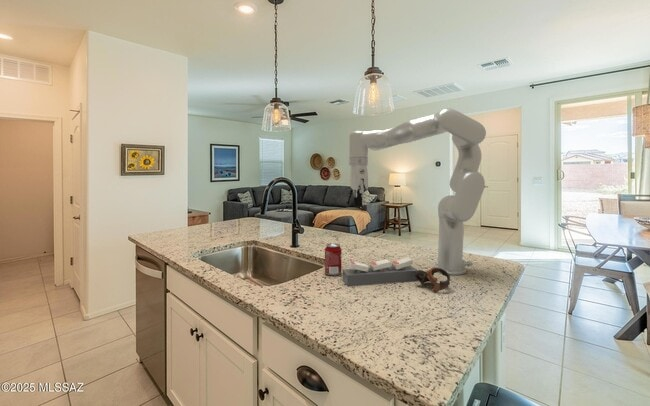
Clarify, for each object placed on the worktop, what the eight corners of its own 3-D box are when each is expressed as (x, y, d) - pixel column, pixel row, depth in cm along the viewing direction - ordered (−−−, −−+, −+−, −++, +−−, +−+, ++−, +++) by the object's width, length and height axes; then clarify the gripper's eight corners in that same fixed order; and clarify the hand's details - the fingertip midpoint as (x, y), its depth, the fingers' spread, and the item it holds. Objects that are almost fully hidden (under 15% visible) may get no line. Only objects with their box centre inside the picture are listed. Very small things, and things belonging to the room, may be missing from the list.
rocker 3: (408, 261, 120) (407, 256, 119) (413, 264, 116) (412, 259, 115) (392, 266, 118) (391, 262, 118) (396, 269, 114) (395, 265, 114)
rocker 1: (364, 268, 116) (365, 263, 116) (367, 271, 112) (369, 266, 112) (347, 265, 115) (348, 260, 115) (350, 268, 111) (351, 263, 111)
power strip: (424, 273, 123) (425, 262, 123) (434, 279, 116) (434, 267, 116) (342, 279, 116) (342, 267, 116) (347, 286, 110) (347, 273, 109)
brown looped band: (443, 283, 113) (451, 268, 109) (444, 303, 106) (453, 288, 101) (411, 274, 115) (418, 259, 110) (410, 293, 107) (418, 277, 103)
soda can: (340, 276, 119) (340, 247, 118) (323, 275, 121) (323, 246, 120) (342, 271, 126) (342, 243, 125) (326, 270, 127) (326, 242, 126)
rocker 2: (386, 263, 118) (386, 258, 118) (391, 266, 114) (390, 261, 114) (370, 267, 117) (369, 262, 116) (373, 270, 113) (373, 265, 112)
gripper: (373, 161, 116) (372, 208, 118) (361, 162, 131) (361, 204, 133) (354, 161, 115) (354, 209, 117) (344, 162, 129) (344, 205, 131)
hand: (358, 206), depth 125 cm, fingers closed
